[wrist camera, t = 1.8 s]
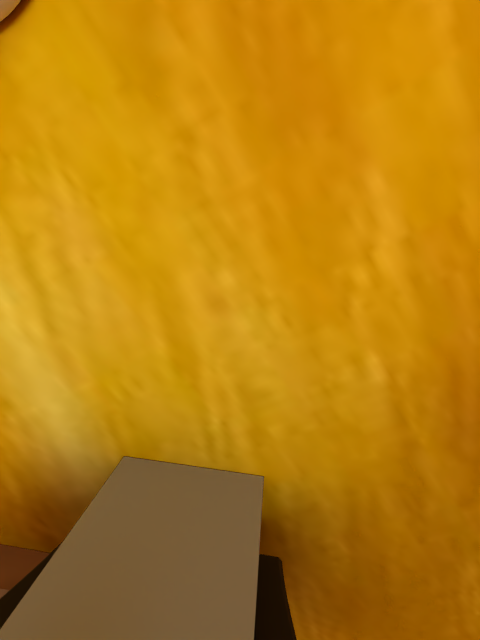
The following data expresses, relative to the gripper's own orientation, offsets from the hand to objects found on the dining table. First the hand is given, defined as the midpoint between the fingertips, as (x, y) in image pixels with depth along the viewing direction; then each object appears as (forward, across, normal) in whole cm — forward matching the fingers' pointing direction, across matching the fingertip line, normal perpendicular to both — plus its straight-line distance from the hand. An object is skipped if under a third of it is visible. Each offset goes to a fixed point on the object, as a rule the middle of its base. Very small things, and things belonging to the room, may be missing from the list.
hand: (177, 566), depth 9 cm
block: (+1, 0, 0) cm, 1 cm away
